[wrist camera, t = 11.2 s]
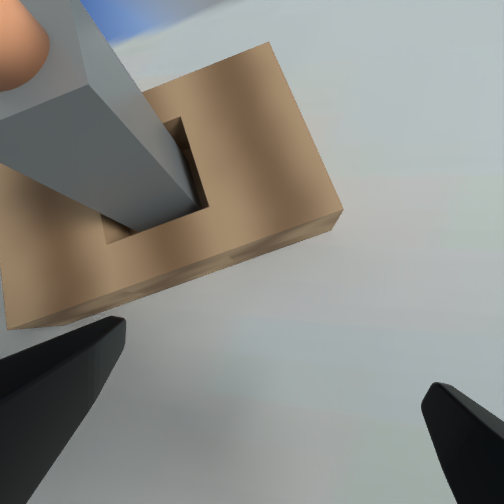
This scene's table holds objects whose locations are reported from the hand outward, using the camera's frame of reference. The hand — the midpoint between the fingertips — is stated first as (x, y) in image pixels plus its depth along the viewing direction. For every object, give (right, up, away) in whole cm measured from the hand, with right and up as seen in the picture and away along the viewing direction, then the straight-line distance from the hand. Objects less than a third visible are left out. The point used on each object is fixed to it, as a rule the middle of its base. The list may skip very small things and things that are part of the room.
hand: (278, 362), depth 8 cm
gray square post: (-7, +7, +11) cm, 15 cm away
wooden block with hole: (-7, +7, +12) cm, 16 cm away
